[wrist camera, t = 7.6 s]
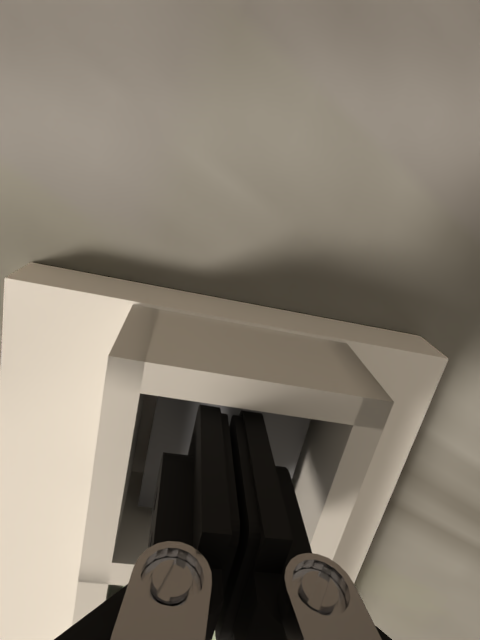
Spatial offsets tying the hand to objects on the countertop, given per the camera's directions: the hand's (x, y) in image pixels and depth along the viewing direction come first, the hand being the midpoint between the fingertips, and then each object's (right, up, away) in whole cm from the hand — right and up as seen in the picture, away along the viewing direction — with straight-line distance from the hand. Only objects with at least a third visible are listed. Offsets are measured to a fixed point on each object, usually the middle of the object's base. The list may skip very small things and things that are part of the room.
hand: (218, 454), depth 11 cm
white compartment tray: (-2, -7, +8) cm, 11 cm away
